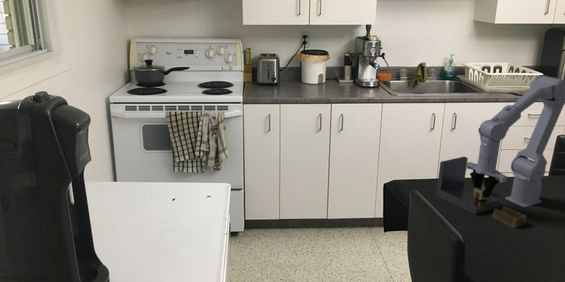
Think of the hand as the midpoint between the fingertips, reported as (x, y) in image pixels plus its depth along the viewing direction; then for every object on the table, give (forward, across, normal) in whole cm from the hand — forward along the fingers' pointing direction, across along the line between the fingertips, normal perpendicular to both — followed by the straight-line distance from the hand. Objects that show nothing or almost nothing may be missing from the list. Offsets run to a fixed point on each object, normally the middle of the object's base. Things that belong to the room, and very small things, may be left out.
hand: (482, 194), depth 163 cm
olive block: (+4, 0, 0) cm, 4 cm away
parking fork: (+5, +10, 0) cm, 11 cm away
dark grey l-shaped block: (+5, -6, 0) cm, 7 cm away
